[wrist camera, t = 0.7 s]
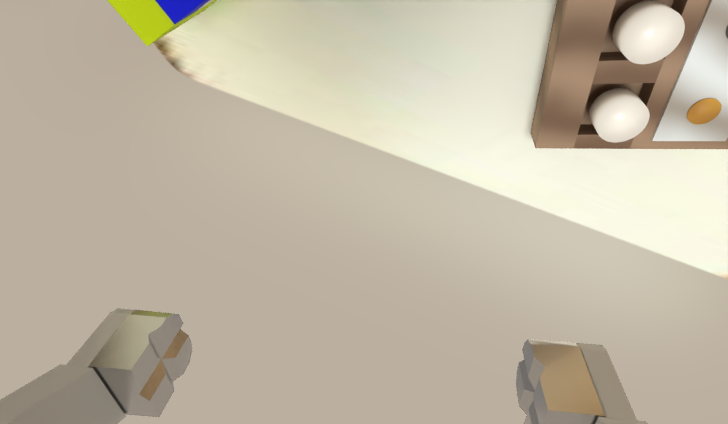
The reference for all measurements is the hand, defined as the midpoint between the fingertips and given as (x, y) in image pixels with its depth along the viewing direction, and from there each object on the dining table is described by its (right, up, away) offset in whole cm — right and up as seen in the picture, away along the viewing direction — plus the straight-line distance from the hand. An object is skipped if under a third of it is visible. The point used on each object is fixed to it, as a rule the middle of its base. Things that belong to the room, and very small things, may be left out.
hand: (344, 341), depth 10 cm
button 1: (+23, +12, +27) cm, 38 cm away
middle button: (+22, +18, +23) cm, 36 cm away
